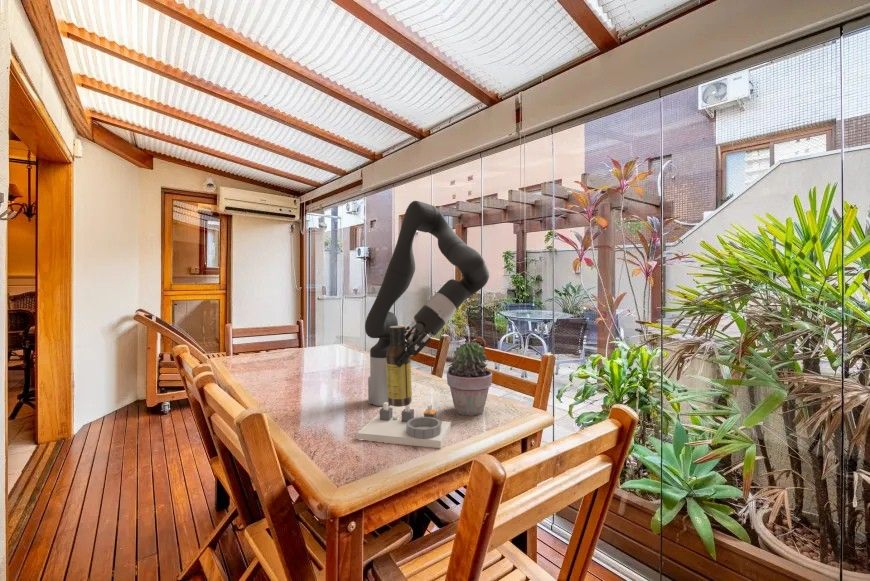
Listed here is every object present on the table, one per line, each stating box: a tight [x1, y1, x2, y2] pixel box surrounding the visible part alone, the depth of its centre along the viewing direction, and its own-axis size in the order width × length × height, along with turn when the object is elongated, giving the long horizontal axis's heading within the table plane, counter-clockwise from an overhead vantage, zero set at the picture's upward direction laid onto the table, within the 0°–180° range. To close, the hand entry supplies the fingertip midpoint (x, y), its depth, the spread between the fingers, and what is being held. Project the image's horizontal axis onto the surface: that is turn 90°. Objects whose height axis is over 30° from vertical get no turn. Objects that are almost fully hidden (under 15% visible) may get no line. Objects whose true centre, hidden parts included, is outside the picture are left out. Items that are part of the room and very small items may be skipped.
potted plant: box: [445, 335, 493, 416], centre depth 129 cm, size 18×20×25 cm
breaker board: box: [356, 402, 452, 449], centre depth 110 cm, size 24×14×7 cm, turn 77°
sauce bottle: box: [386, 325, 413, 408], centre depth 97 cm, size 6×6×20 cm
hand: (392, 362), depth 96 cm, fingers closed on sauce bottle, 6 cm apart
